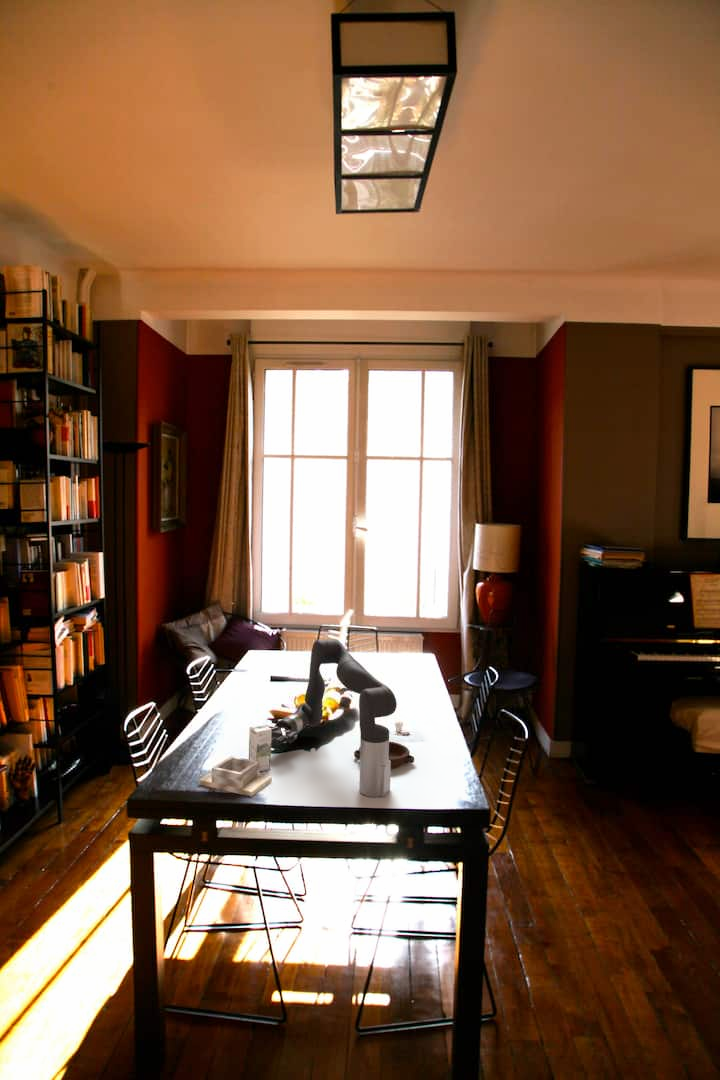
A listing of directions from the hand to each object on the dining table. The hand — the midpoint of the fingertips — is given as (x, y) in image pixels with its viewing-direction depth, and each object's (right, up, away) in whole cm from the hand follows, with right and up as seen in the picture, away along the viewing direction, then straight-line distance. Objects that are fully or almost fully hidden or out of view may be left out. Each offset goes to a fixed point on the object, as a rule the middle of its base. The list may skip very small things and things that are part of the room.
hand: (266, 740), depth 211 cm
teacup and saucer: (+48, -9, +34) cm, 60 cm away
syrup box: (-2, -9, -3) cm, 10 cm away
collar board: (-8, -9, -15) cm, 19 cm away
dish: (+42, -10, +5) cm, 43 cm away
